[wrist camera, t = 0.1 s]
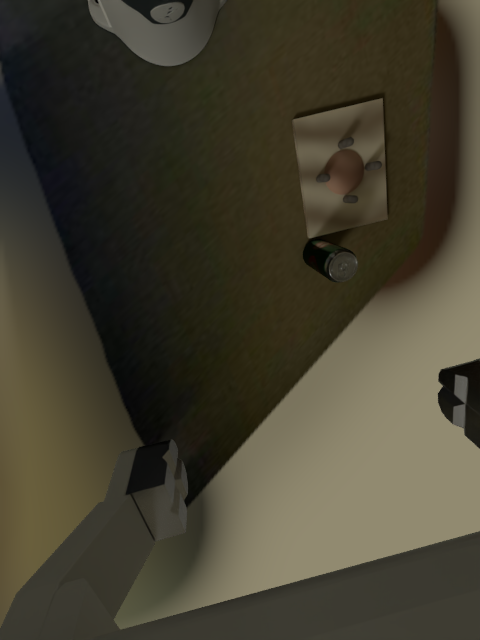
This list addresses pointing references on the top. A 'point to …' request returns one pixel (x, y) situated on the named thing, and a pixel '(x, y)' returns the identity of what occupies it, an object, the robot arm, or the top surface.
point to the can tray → (342, 167)
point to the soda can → (330, 260)
